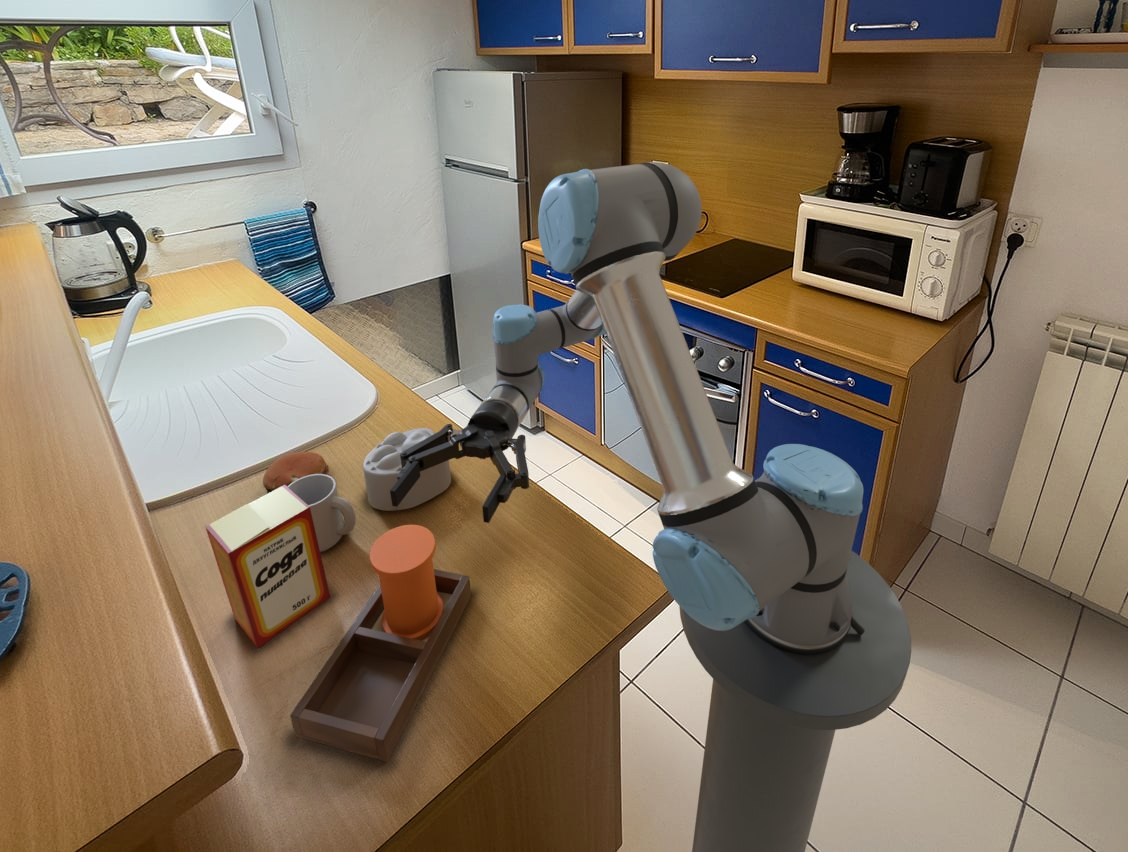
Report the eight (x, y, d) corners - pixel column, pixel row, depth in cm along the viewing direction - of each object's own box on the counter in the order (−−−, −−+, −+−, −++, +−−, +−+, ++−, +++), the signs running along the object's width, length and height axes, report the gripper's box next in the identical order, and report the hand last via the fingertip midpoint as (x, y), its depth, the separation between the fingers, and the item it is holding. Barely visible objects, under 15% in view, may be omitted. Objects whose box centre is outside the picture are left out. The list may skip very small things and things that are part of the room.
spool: (453, 598, 80) (445, 530, 75) (426, 650, 73) (415, 578, 69) (402, 587, 81) (391, 519, 77) (370, 637, 75) (356, 566, 70)
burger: (314, 459, 107) (310, 438, 105) (339, 483, 102) (335, 461, 100) (256, 487, 100) (250, 465, 99) (279, 515, 95) (273, 492, 93)
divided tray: (471, 595, 81) (469, 575, 80) (387, 762, 63) (382, 740, 61) (398, 580, 84) (395, 560, 82) (295, 736, 65) (289, 715, 63)
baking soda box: (306, 572, 85) (284, 482, 78) (330, 597, 81) (309, 504, 75) (234, 618, 78) (204, 524, 72) (257, 648, 74) (227, 550, 68)
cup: (310, 517, 94) (300, 471, 91) (370, 523, 93) (362, 477, 90) (282, 553, 88) (270, 505, 84) (347, 560, 87) (337, 512, 83)
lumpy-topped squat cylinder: (457, 485, 102) (453, 443, 98) (383, 522, 93) (376, 478, 90) (429, 455, 109) (424, 415, 105) (357, 488, 101) (350, 446, 97)
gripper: (569, 447, 99) (526, 543, 80) (432, 427, 104) (360, 513, 85) (569, 409, 96) (524, 499, 77) (427, 390, 101) (352, 470, 82)
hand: (438, 506), depth 81 cm, fingers open, 13 cm apart
